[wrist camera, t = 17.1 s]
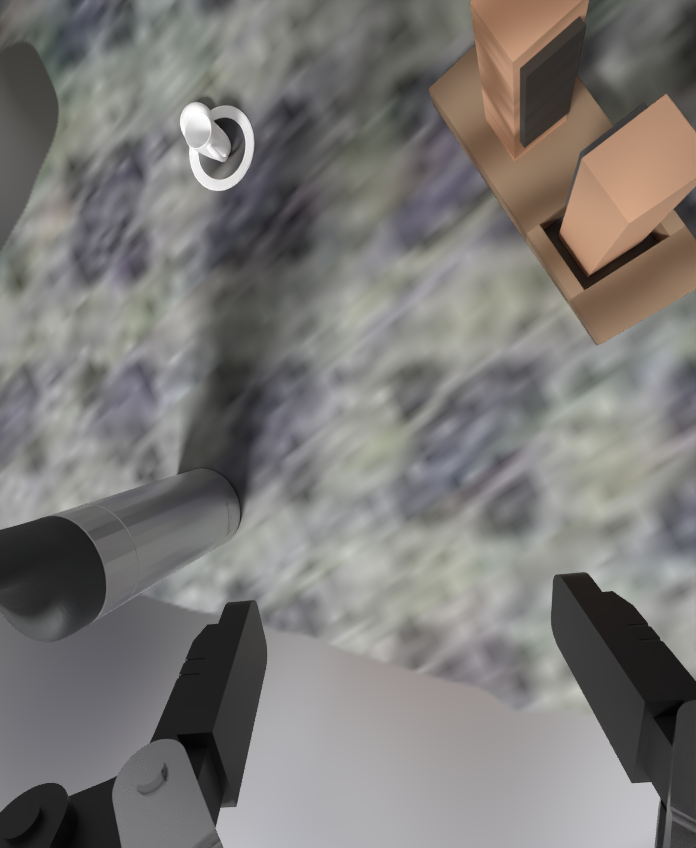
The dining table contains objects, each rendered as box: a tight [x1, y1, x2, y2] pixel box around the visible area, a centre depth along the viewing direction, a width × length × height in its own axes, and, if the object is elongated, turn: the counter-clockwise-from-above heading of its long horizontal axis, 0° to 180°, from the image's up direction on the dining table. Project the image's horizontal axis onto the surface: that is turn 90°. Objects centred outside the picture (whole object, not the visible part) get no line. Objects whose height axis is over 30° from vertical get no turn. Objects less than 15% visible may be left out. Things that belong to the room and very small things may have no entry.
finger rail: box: [429, 0, 696, 345], centre depth 27 cm, size 24×8×14 cm, turn 34°
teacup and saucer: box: [180, 102, 254, 191], centre depth 43 cm, size 9×8×4 cm
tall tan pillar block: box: [558, 94, 696, 278], centre depth 27 cm, size 5×4×14 cm
